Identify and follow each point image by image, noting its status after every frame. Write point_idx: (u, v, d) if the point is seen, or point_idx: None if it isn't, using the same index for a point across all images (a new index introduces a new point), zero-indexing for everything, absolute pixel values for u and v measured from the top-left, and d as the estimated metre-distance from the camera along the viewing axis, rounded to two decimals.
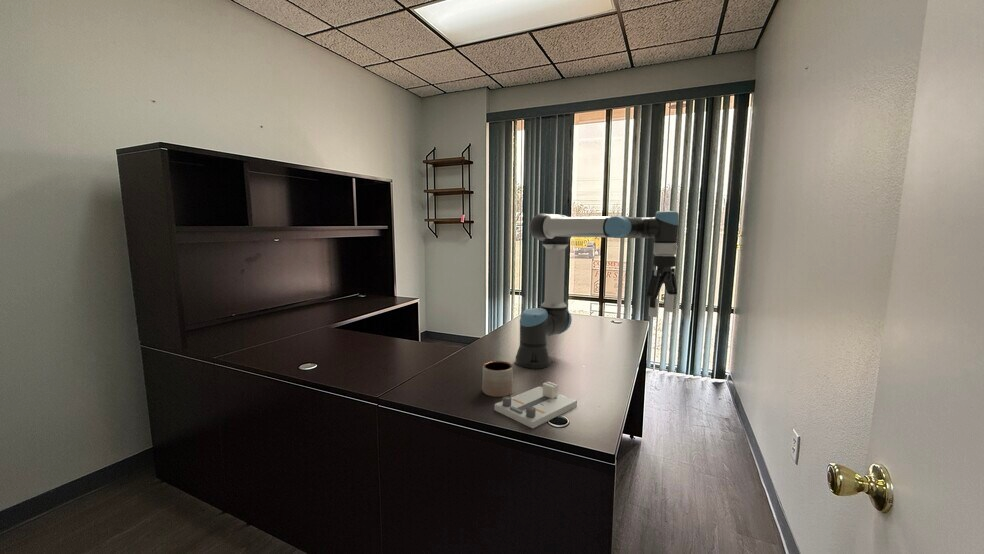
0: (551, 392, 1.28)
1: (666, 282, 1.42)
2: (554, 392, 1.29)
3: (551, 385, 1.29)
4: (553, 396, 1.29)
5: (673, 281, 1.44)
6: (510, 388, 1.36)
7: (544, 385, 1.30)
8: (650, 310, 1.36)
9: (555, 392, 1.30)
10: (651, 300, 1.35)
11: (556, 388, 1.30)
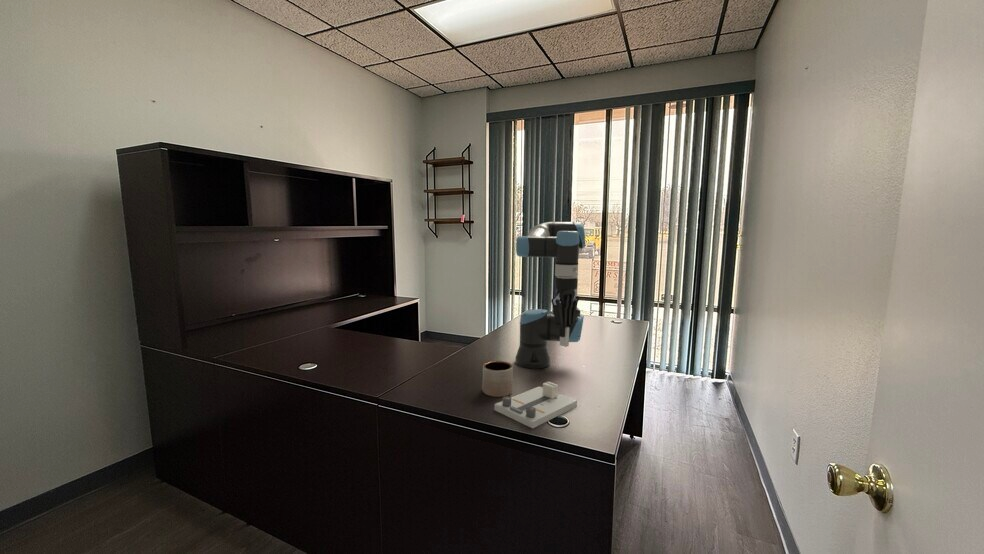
0: (551, 392, 1.28)
1: None
2: (554, 392, 1.29)
3: (551, 385, 1.29)
4: (553, 396, 1.29)
5: (573, 309, 1.34)
6: (510, 388, 1.36)
7: (544, 385, 1.30)
8: (561, 339, 1.34)
9: (555, 392, 1.30)
10: (560, 329, 1.32)
11: (556, 388, 1.30)
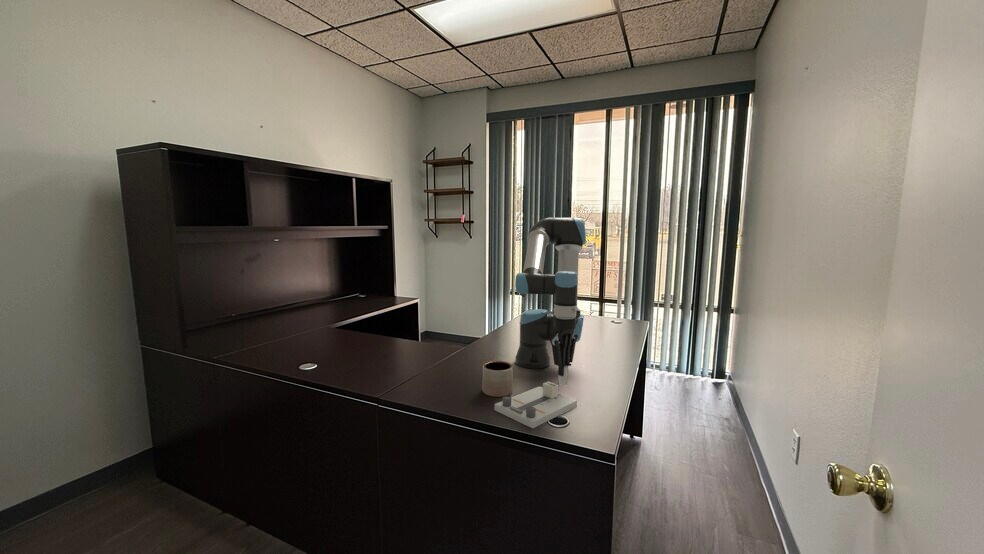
0: (551, 392, 1.28)
1: None
2: (554, 392, 1.29)
3: (551, 385, 1.29)
4: (553, 396, 1.29)
5: (571, 348, 1.36)
6: (510, 388, 1.36)
7: (544, 385, 1.30)
8: (560, 377, 1.35)
9: (555, 392, 1.30)
10: (559, 368, 1.34)
11: (556, 388, 1.30)
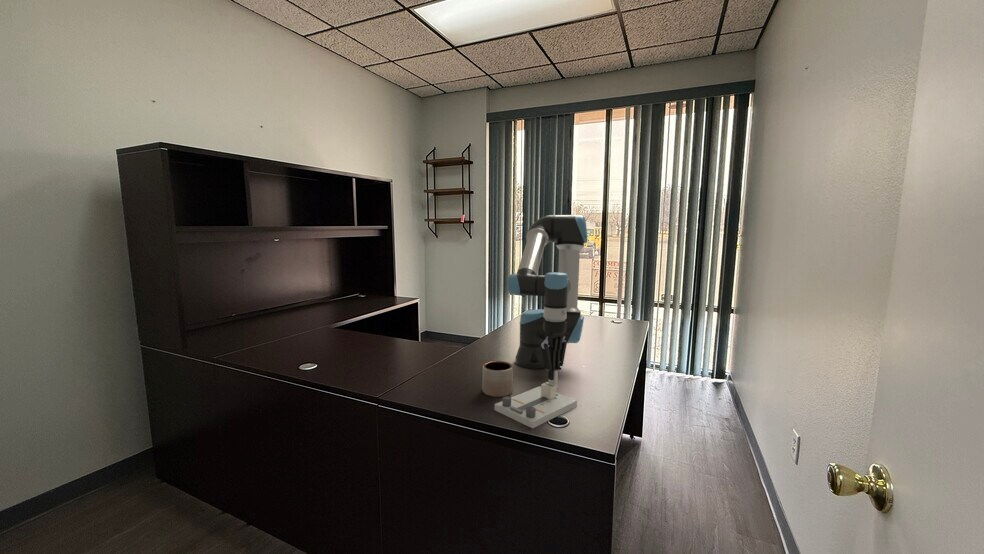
0: (549, 393, 1.28)
1: None
2: (553, 392, 1.29)
3: (549, 386, 1.29)
4: (551, 397, 1.28)
5: (562, 351, 1.32)
6: (510, 388, 1.36)
7: (542, 386, 1.30)
8: (550, 381, 1.31)
9: (554, 393, 1.29)
10: (549, 372, 1.30)
11: (555, 389, 1.29)
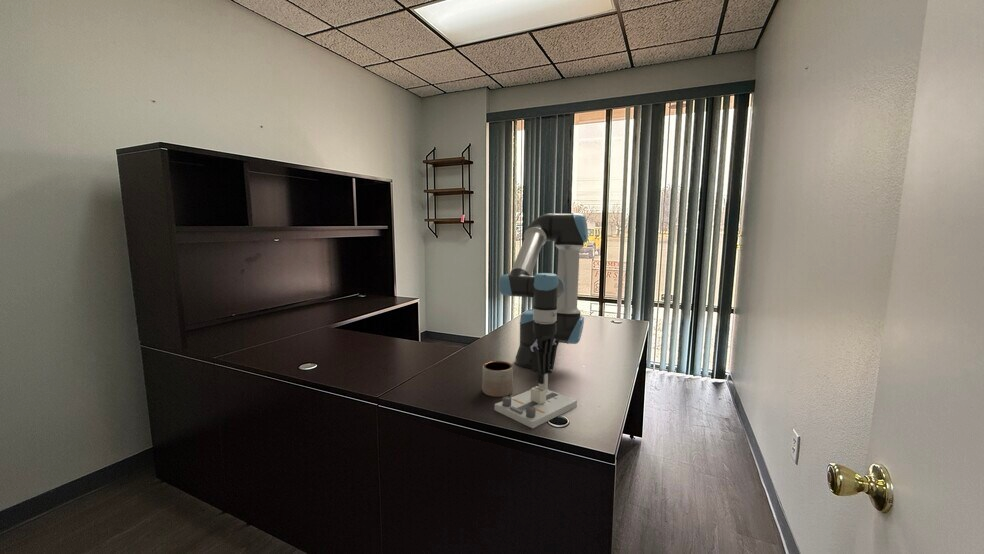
0: (539, 397, 1.24)
1: None
2: (542, 397, 1.25)
3: (539, 390, 1.25)
4: (541, 401, 1.25)
5: (552, 354, 1.28)
6: (510, 388, 1.36)
7: (532, 390, 1.26)
8: (540, 385, 1.28)
9: (543, 397, 1.25)
10: (539, 376, 1.26)
11: (544, 393, 1.25)
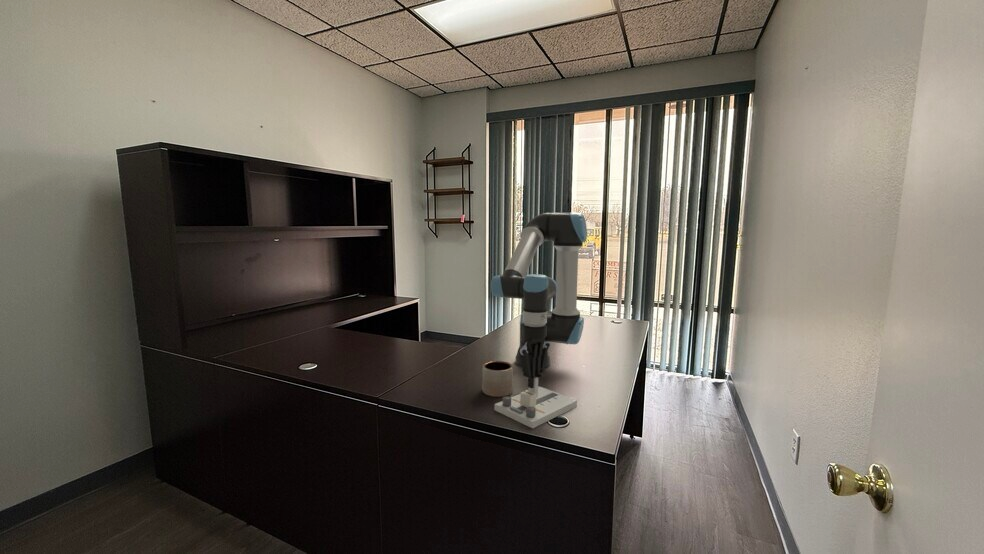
0: (529, 402, 1.21)
1: None
2: (532, 401, 1.22)
3: (529, 394, 1.22)
4: (531, 406, 1.21)
5: (543, 358, 1.25)
6: (510, 388, 1.36)
7: (522, 394, 1.23)
8: (530, 389, 1.24)
9: (533, 402, 1.22)
10: (529, 380, 1.23)
11: (534, 397, 1.22)
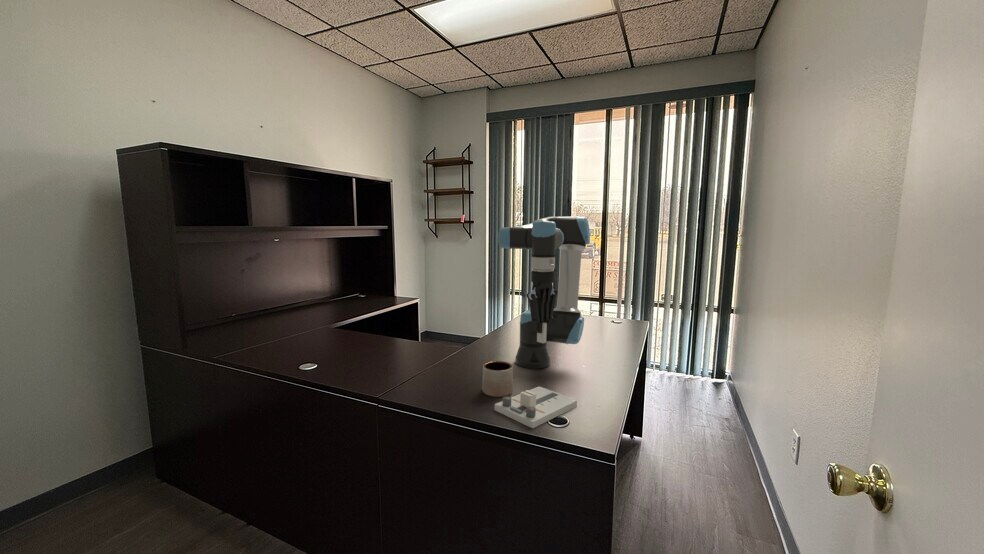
0: (529, 402, 1.21)
1: None
2: (532, 401, 1.22)
3: (529, 394, 1.22)
4: (531, 406, 1.21)
5: (551, 304, 1.28)
6: (510, 388, 1.36)
7: (522, 394, 1.23)
8: (538, 335, 1.27)
9: (533, 402, 1.22)
10: (537, 325, 1.26)
11: (534, 397, 1.22)
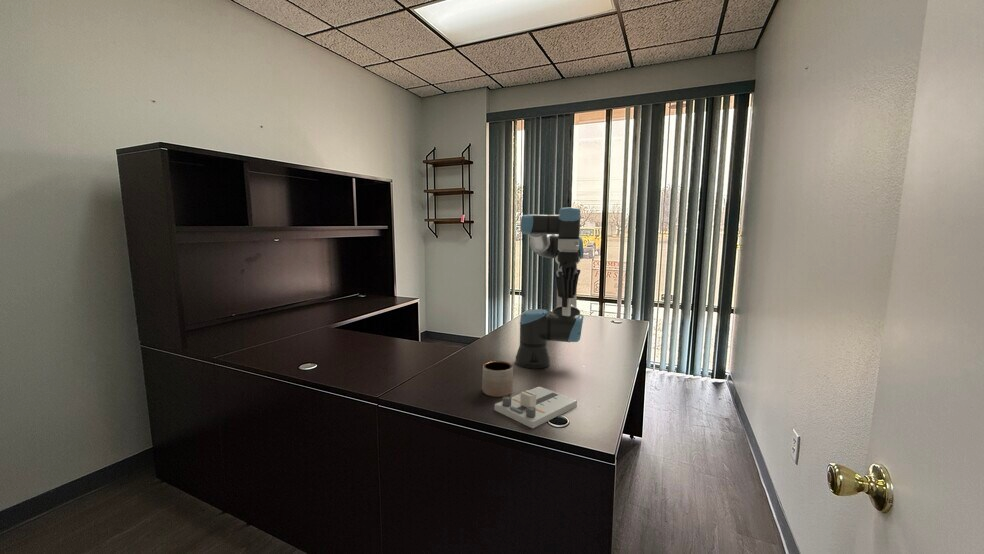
0: (529, 402, 1.21)
1: None
2: (532, 401, 1.22)
3: (529, 394, 1.22)
4: (531, 406, 1.21)
5: (574, 282, 1.44)
6: (510, 388, 1.36)
7: (522, 394, 1.23)
8: (563, 309, 1.43)
9: (533, 402, 1.22)
10: (563, 300, 1.42)
11: (534, 397, 1.22)
